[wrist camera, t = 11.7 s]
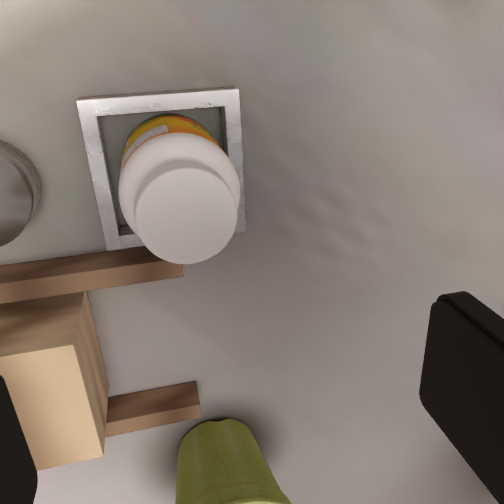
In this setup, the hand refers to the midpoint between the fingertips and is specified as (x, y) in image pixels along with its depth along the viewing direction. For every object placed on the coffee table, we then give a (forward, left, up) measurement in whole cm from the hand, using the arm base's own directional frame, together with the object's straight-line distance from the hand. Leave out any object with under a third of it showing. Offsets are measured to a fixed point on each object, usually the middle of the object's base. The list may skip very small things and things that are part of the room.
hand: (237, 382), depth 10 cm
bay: (+8, +11, -18) cm, 23 cm away
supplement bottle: (0, -1, -19) cm, 19 cm away
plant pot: (-1, +23, -19) cm, 29 cm away
